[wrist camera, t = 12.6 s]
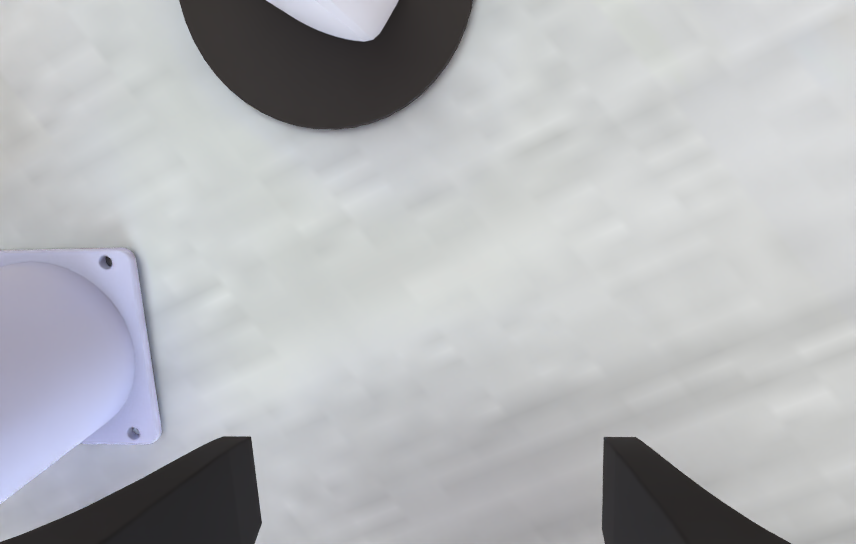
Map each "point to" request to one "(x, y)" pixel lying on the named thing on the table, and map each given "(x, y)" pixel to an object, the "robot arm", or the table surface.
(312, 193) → the table surface
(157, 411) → the robot arm
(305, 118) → the coaster
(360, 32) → the eye dropper bottle
